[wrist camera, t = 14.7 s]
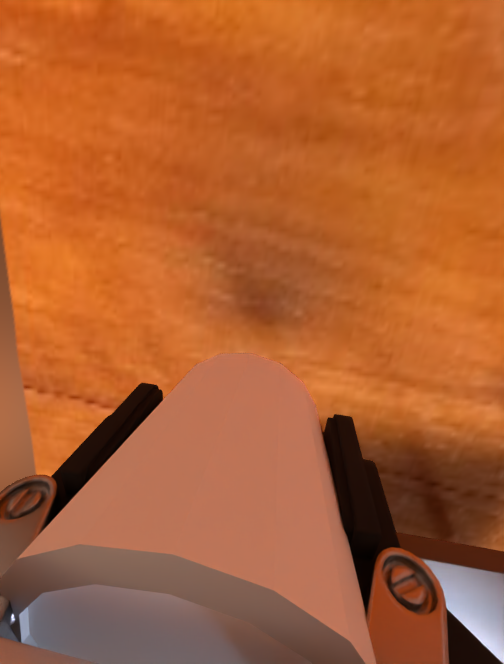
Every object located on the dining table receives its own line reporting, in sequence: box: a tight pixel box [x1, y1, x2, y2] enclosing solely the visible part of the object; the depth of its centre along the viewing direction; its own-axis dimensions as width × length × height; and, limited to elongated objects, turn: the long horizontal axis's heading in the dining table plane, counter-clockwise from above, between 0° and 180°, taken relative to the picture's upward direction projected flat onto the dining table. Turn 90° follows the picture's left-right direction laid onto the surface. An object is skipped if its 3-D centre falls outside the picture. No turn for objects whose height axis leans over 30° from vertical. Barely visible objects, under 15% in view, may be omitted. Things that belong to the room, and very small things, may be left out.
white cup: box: [0, 353, 376, 664], centre depth 8 cm, size 7×7×7 cm
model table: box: [322, 433, 504, 664], centre depth 22 cm, size 16×18×9 cm
